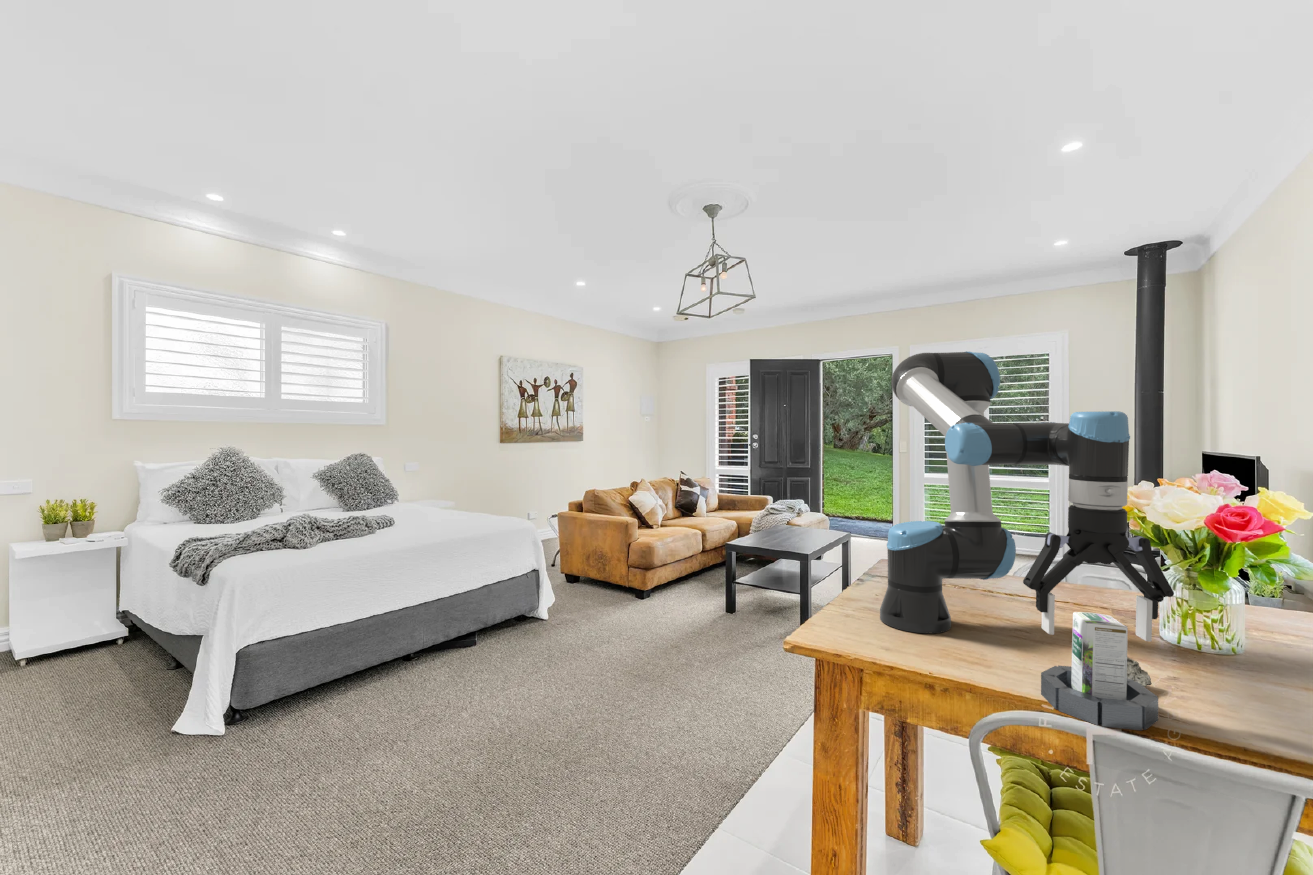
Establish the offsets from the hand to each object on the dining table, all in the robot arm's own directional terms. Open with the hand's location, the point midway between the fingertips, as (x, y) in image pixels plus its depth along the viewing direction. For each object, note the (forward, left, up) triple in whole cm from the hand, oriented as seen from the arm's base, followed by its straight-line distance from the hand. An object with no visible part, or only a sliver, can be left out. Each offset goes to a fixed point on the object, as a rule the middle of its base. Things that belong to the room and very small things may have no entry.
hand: (1094, 634), depth 90 cm
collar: (0, 0, -12) cm, 12 cm away
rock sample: (+8, +8, -12) cm, 16 cm away
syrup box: (0, 0, -12) cm, 12 cm away
